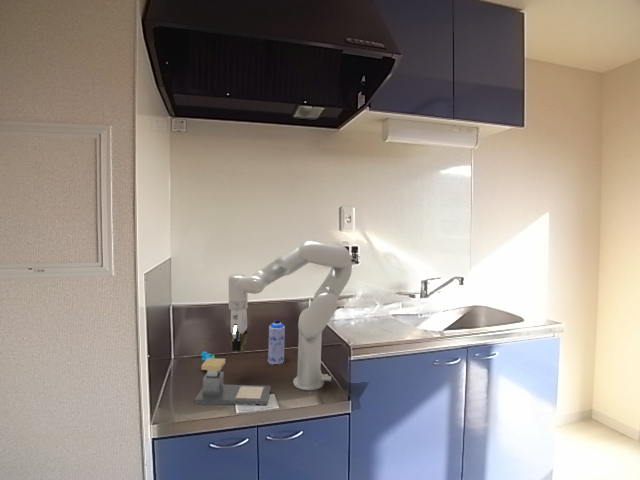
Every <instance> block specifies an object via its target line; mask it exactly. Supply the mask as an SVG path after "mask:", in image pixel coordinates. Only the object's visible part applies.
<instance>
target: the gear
mask: <svg viewBox="0 0 640 480" xmlns="http://www.w3.org/2000/svg"><path fill="white" fill-rule="evenodd" d="M200 357H201V360H202V362H205V360H206V359H207V358H215V355H214V354H211V353H210V352H209V353H208V352H207V351H202V352H201V354H200Z"/></svg>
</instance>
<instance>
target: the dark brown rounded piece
mask: <svg viewBox="0 0 640 480" xmlns="http://www.w3.org/2000/svg"><path fill="white" fill-rule="evenodd" d="M248 332H249V331H248V330H247V329H246V330H245V332H244V333H243V334H241V333H240V341H241V350H240V351H235V352H237V353H239V352H240V353H241V352H242V351H243V350H244V347H245V346H246V344H247V341H248ZM237 333H239V332H237ZM228 334H229V341H230V345H231V346H232V339H233V338H232V337H233V336H232V333H231V331H229V333H228ZM237 336H238V335H237Z"/></svg>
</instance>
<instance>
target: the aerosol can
mask: <svg viewBox="0 0 640 480" xmlns="http://www.w3.org/2000/svg"><path fill="white" fill-rule="evenodd" d="M280 320H281V319H278V318H277V319H274V322H272V323H271V324H270V325H269V326H268V354H267V355H268V357H267V363H268V362H269V363H268V364H270V365H273V364H278V365H281V363H282V364H284V363H285V339H286V338H285V337H286V335H285V333H286V331H285V329H286V328H285V327H286V326H285V325H284V324H283V323H282V322H280ZM283 362H284V363H283Z"/></svg>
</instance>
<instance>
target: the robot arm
mask: <svg viewBox="0 0 640 480" xmlns="http://www.w3.org/2000/svg"><path fill="white" fill-rule="evenodd" d="M308 264H314V265H319V266H325V267H330V270H329V272H328V274H327V275H326V278H324V281H323V282H322V283H321V285H320V286H319V287H318V289H316V292H314V296H313V300H312V301H311V303H310V305H309V306H308V307H306V308H304V309H303V310H302V311H301V312H300V315H299V317H298V323H297V326H298V328H297V329H298V345H297V346H298V347H297V371H296V373H297V375H296V377H294V378H293V386H294V387H296V388H297V389H299V390H302V391H315V390H319V389H321V388H322V387H323V386H324V384H325V382H331V381H332V375H329V374H328V373H327V374H326V373H325V374H323V373H322V370H321V365H322V359H321V358H322V339H323V337H322V336H323V335H322V334H323V332H324V329H325V328H326V327H327V325H328V324H329V322H330V320H331V319H332V317H333V316H334V314H335V313H336V311H337V309H338V305H339V300H338V299H339V297H340V295H341V294H342V292H343V291H344V289H345V287H346V285H347V284H348V282H349V281H350V278H351V275H352V270H353V266H352V258H351V254H350V251H349V250H348V249H347V248H346V246H344V245H342V244H334V245H333V244H328V243H323V242H319V241H316V240H315V239H311V238H310V239H306V240H304V241H303V242H301V243H299V244H297V245H296V246H295V247H293V248H291V249H289V250H288V251H287V252H285V253H284V254H282V255H280V256H278V257H277V258H276V259H274V261H272V262H270V263H268V264H267V265H265V266H264V267H262V268H261V269H259V270H258V271H256V272H254V273H252V274H251V275H247V274H244V273H234V274H231V275H229V276H228V309H229V310H230V332H231V333H232V336H233V337H232V338H233V339H232V345H231V347H232V351H233V352H236V351H240V350H241V341H240V333H241V334H243V333H244V332H245V330H246V331H247V329H248V315H247V312H248V311H247V309H248V307H249V306H248V301H249V299H248V297H249V296H248V294H254V295H255V294H260V293H262V292H263V290H264V289H265V288H266V287H267V286H269V285H271V284H272V283H274V282H275V281H277V280H279V279H280V278H282V277H286V276H290V275H292V274H293V273H296V272H297V271H298V270H299V269H302V268H303V267H305V266H306V265H308ZM237 332H239V333H237ZM237 335H238V336H237ZM240 352H241V351H240Z"/></svg>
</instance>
